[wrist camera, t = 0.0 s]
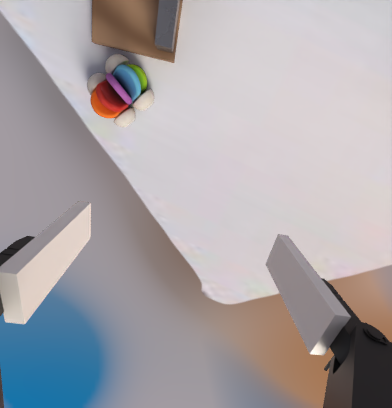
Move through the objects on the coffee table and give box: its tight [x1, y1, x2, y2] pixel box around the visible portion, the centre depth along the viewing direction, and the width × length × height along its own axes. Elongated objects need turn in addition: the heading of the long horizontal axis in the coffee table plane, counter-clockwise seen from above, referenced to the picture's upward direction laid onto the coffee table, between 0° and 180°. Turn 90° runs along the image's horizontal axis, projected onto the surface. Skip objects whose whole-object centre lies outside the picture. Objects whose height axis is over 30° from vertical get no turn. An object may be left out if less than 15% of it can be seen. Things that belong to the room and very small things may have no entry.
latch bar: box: [155, 0, 180, 53], centre depth 30 cm, size 8×2×3 cm, turn 168°
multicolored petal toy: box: [87, 54, 154, 127], centre depth 33 cm, size 8×10×7 cm
